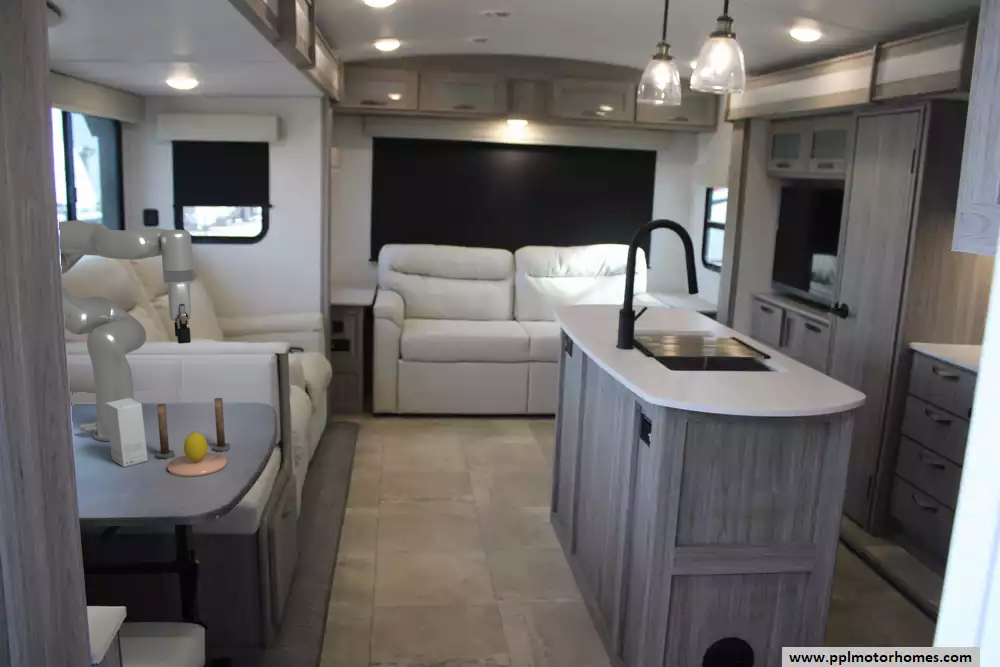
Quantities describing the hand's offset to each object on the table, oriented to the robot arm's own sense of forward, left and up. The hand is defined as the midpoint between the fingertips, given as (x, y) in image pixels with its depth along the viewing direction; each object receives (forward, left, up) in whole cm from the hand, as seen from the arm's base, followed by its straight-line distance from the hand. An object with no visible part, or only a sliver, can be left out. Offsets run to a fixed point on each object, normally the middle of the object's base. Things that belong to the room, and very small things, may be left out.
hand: (182, 339), depth 222 cm
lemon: (0, -23, -28) cm, 36 cm away
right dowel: (+7, -12, -28) cm, 32 cm away
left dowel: (-7, -12, -28) cm, 32 cm away
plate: (0, -23, -28) cm, 36 cm away
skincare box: (-16, -12, -28) cm, 35 cm away
